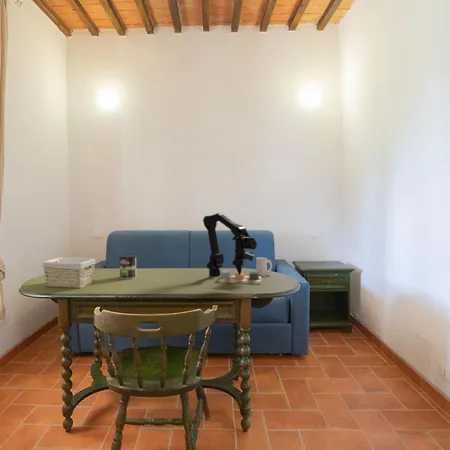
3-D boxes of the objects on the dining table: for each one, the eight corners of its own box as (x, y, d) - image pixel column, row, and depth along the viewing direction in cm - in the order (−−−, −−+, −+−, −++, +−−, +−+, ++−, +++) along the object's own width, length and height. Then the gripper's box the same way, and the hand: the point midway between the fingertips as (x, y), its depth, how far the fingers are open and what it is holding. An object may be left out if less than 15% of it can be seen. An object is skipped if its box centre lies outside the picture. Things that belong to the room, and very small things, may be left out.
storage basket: (97, 282, 194) (96, 257, 193) (81, 289, 178) (80, 263, 177) (60, 280, 198) (59, 256, 197) (42, 287, 182) (41, 261, 181)
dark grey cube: (249, 282, 188) (249, 273, 188) (250, 279, 193) (250, 271, 193) (258, 282, 188) (258, 273, 187) (258, 280, 192) (258, 271, 192)
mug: (256, 278, 204) (257, 259, 203) (255, 275, 211) (255, 257, 210) (272, 278, 204) (273, 259, 203) (271, 275, 211) (271, 257, 210)
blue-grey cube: (220, 280, 191) (220, 272, 191) (222, 278, 196) (222, 270, 196) (229, 281, 190) (229, 272, 190) (230, 279, 195) (230, 270, 195)
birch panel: (217, 284, 188) (217, 279, 188) (220, 279, 200) (220, 274, 200) (260, 286, 184) (260, 281, 184) (261, 281, 196) (261, 276, 196)
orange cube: (234, 283, 190) (235, 274, 190) (236, 281, 195) (236, 272, 194) (243, 283, 189) (243, 275, 189) (244, 281, 194) (244, 273, 194)
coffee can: (131, 279, 200) (131, 257, 199) (116, 278, 202) (116, 256, 201) (139, 276, 210) (139, 254, 209) (125, 275, 212) (124, 253, 211)
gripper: (252, 250, 180) (251, 278, 181) (254, 246, 198) (254, 271, 199) (232, 250, 182) (232, 277, 183) (236, 245, 200) (236, 270, 201)
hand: (239, 274), depth 192 cm, fingers closed, pressing on orange cube
